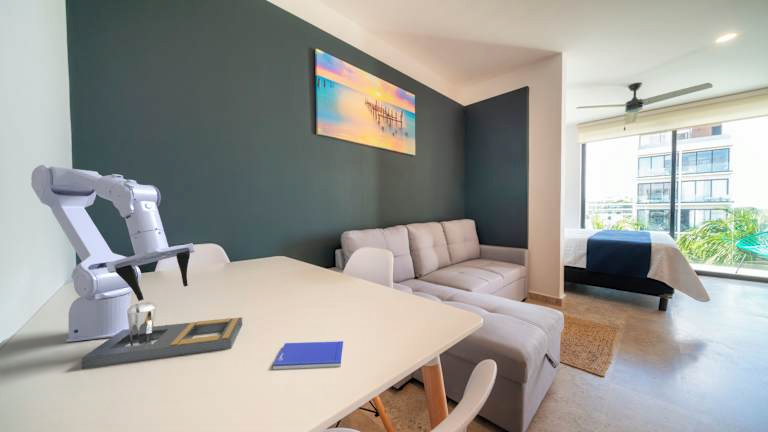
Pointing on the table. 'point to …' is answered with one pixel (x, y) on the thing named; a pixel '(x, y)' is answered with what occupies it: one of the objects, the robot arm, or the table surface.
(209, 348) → the grey slotted plate
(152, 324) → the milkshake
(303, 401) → the table surface
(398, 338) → the table surface
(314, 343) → the hard drive
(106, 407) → the table surface
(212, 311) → the table surface
